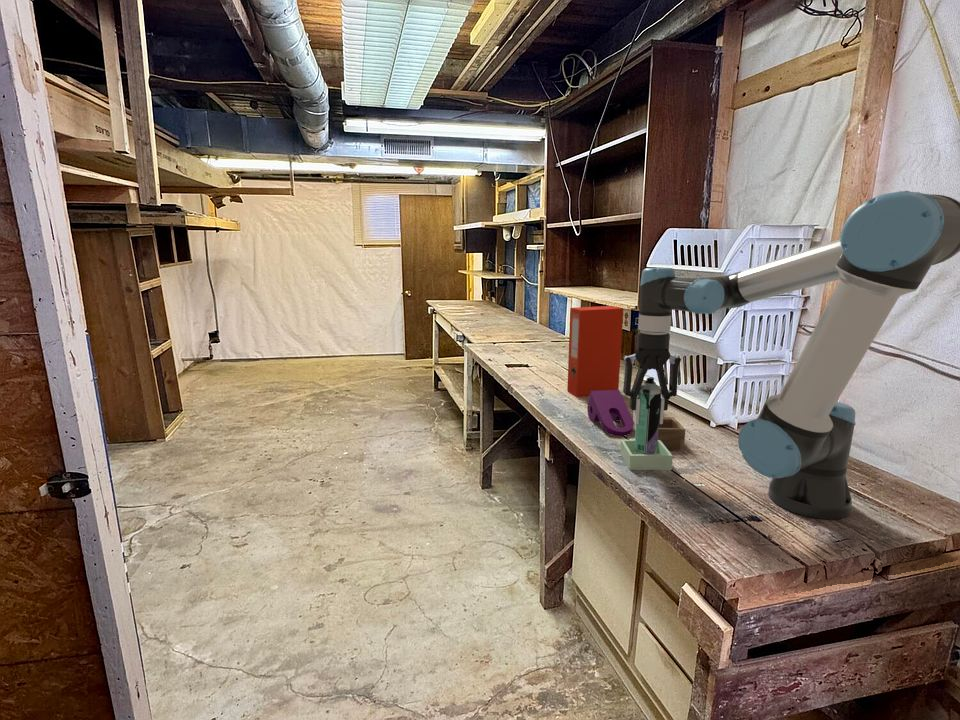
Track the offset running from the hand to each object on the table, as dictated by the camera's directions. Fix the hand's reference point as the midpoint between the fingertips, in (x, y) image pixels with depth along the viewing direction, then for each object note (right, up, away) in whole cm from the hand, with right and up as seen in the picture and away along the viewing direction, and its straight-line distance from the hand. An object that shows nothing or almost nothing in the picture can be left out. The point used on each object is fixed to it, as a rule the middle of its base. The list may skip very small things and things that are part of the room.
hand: (647, 422), depth 130 cm
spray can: (0, -8, +2) cm, 9 cm away
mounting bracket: (-2, -5, +28) cm, 29 cm away
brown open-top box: (+9, -7, +15) cm, 19 cm away
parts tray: (0, -10, +2) cm, 11 cm away
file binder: (0, +3, +63) cm, 64 cm away
